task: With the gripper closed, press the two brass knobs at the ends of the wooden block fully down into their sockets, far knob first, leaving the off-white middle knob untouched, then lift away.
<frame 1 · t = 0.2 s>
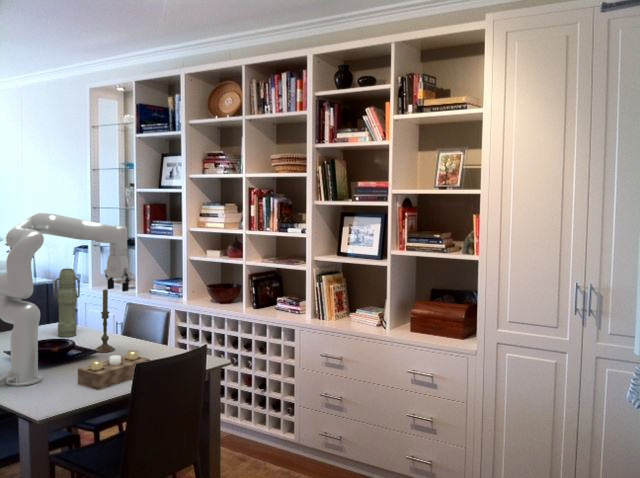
hand: (118, 290, 262), 31 cm above the table, tool pointing down, fingers open, 9 cm apart
far brass knob: (132, 358, 240), point 6 cm above the table, slide at 0.0 cm
thermos: (67, 336, 298), on the table
wooden block: (115, 378, 233), on the table
middle white knob: (115, 363, 233), point 6 cm above the table, slide at 0.0 cm
near brass knob: (96, 368, 225), point 6 cm above the table, slide at 0.0 cm
candlestick holder: (104, 350, 273), on the table
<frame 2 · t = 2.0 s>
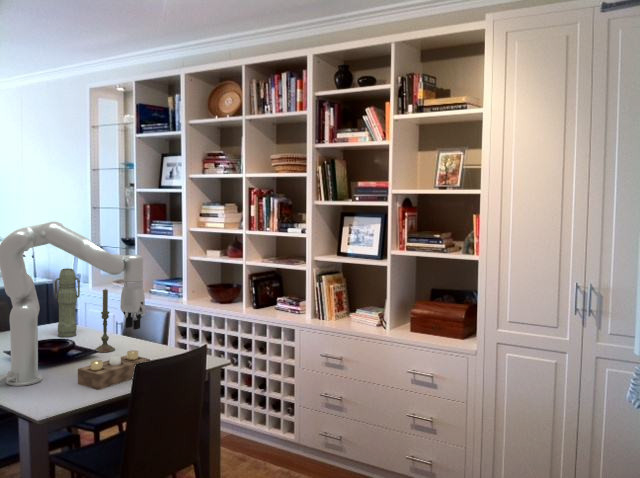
hand: (132, 327, 239), 19 cm above the table, tool pointing down, fingers open, 3 cm apart
nothing on the table moved.
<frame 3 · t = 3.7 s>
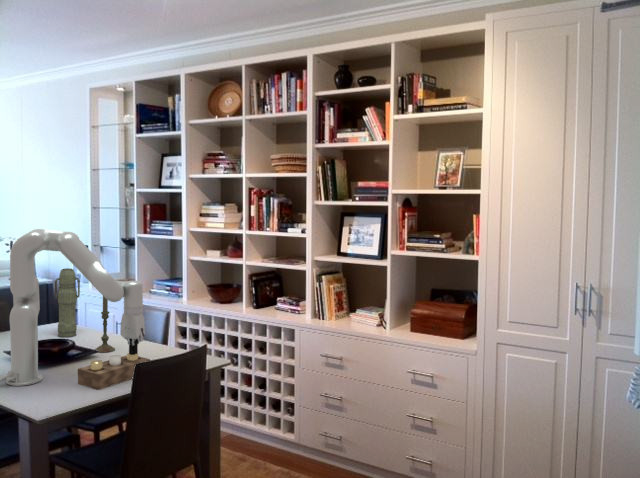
hand: (133, 353, 240), 8 cm above the table, tool pointing down, fingers closed
far brass knob: (132, 360, 240), point 5 cm above the table, slide at 0.9 cm, touching gripper
everything else where it was.
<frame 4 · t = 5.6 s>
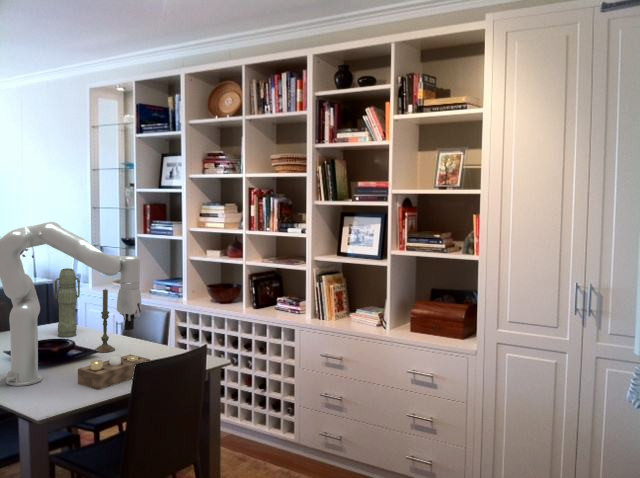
hand: (129, 329, 238), 19 cm above the table, tool pointing down, fingers closed
far brass knob: (132, 363, 240), point 4 cm above the table, slide at 2.3 cm
everything else where it was.
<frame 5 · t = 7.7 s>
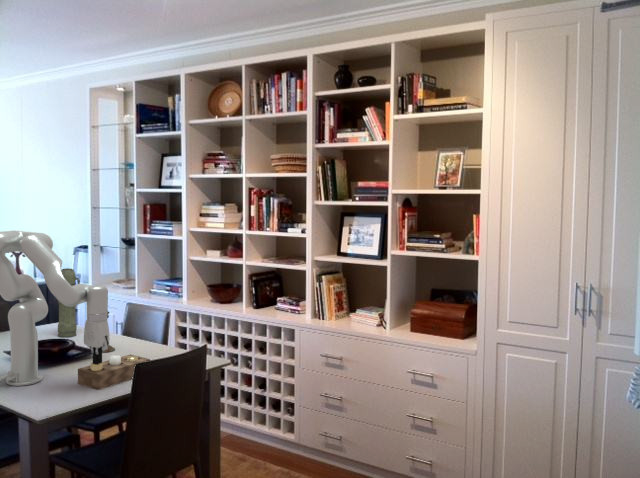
hand: (97, 363, 225), 8 cm above the table, tool pointing down, fingers closed
near brass knob: (96, 370, 225), point 6 cm above the table, slide at 0.7 cm, touching gripper
everything else where it was.
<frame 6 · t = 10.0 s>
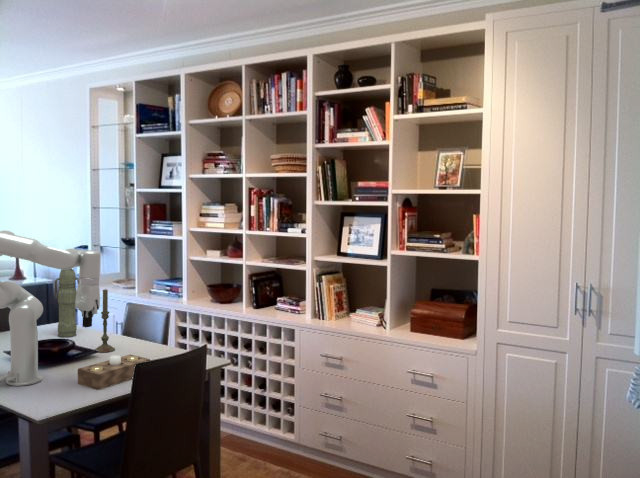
hand: (87, 326, 229), 21 cm above the table, tool pointing down, fingers closed
near brass knob: (96, 374, 225), point 4 cm above the table, slide at 2.3 cm
everything else where it was.
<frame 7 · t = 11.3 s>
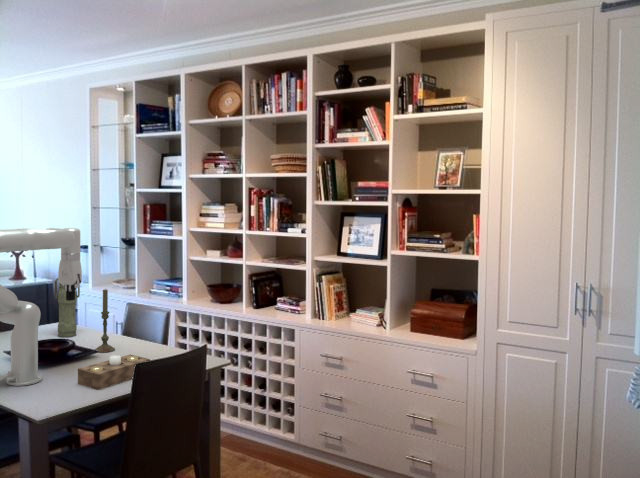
hand: (70, 300, 244), 29 cm above the table, tool pointing down, fingers closed
nothing on the table moved.
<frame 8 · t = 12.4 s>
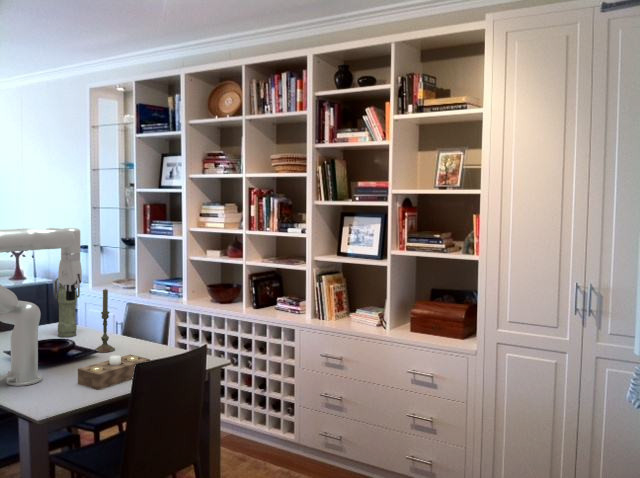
hand: (70, 300, 244), 29 cm above the table, tool pointing down, fingers closed
nothing on the table moved.
at the end: far brass knob slide at 2.3 cm; near brass knob slide at 2.3 cm; middle white knob slide at 0.0 cm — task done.
